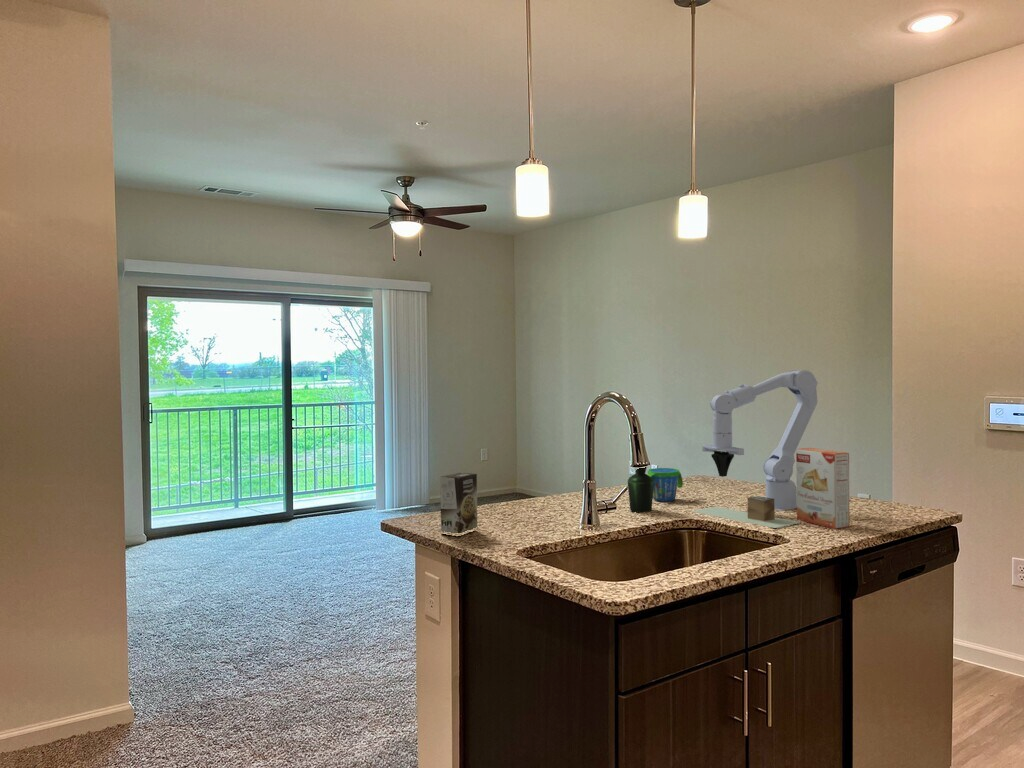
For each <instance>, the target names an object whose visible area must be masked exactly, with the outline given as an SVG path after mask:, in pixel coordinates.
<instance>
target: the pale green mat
mask: <svg viewBox="0 0 1024 768" xmlns="http://www.w3.org/2000/svg"><path fill="white" fill-rule="evenodd" d="M689 512H691V513H697V514H701V515H706V516H707V515H708V516H711V517H716V518H717V517H718V518H723V519H728V520H732V521H738V522H743V523H747V524H752V525H753V524H754V525H759V526H762V527H769V528H779V527H783V528H785V527H784V526H788V525H792V526H794V525H793V524H796V525H798V524H797V523H802V522H801V521H797V520H791V519H787V518H781V517H780V518H779V517H776V516H775V519H774V520H770V521H765V522H763V521H757V520H752V519H748V511H747V512H746V511H741V510H736V509H730V508H724V507H720V506H712V507H705V508H700V509H696V510H690V511H689ZM788 527H789V526H788ZM779 529H780V528H779Z"/></svg>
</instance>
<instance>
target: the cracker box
mask: <svg viewBox="0 0 1024 768" xmlns="http://www.w3.org/2000/svg"><path fill="white" fill-rule="evenodd" d="M795 453H796V455H795V458H796V460H795V461H796V465H795V466H796V467H795V468H796V469H795V471H796V472H795V473H796V489H797V508H796V519H797V520H800V521H802V522H805V521H807V522H806V523H809V522H810V524H813V523H814V524H813V525H817V524H819V525H818V526H821V525H823V526H822V527H825V526H826V527H825V528H829V527H830V529H832V528H833V529H834V530H837V529H838V528H839V529H844V528H850V453H849V452H845V451H838V450H830V449H822V448H815V447H802V448H801V447H800V448H797V449H796V451H795Z"/></svg>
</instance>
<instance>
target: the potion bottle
mask: <svg viewBox="0 0 1024 768" xmlns="http://www.w3.org/2000/svg"><path fill="white" fill-rule="evenodd" d="M649 466H651V464H650V462H649ZM647 468H648V466H647V467H645V468H639V469H637V470H636V471H635V474H633V475H631V476H629V477H628V479H627V488H628V490H627V491H628V499H629V502H628V503H629V510H630V512H632V513H634V512H636V513H635V514H641V513H648V512H652V510H653V509H652V508H653V501H654V499H653V487H654V480H653V478H651V477H650V476H648V475H647V474H648V473H647V474H646V471H647Z"/></svg>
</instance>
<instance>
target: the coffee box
mask: <svg viewBox="0 0 1024 768" xmlns="http://www.w3.org/2000/svg"><path fill="white" fill-rule="evenodd" d="M477 476H478V474H477V473H473V472H471V473H470V472H457V473H451V474H447V475H442V476H440V532H441V531H445V532H451V533H462V532H465V531H467V530H471V529H473V528H476V527H477V528H478V481H477V480H478V477H477Z"/></svg>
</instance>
